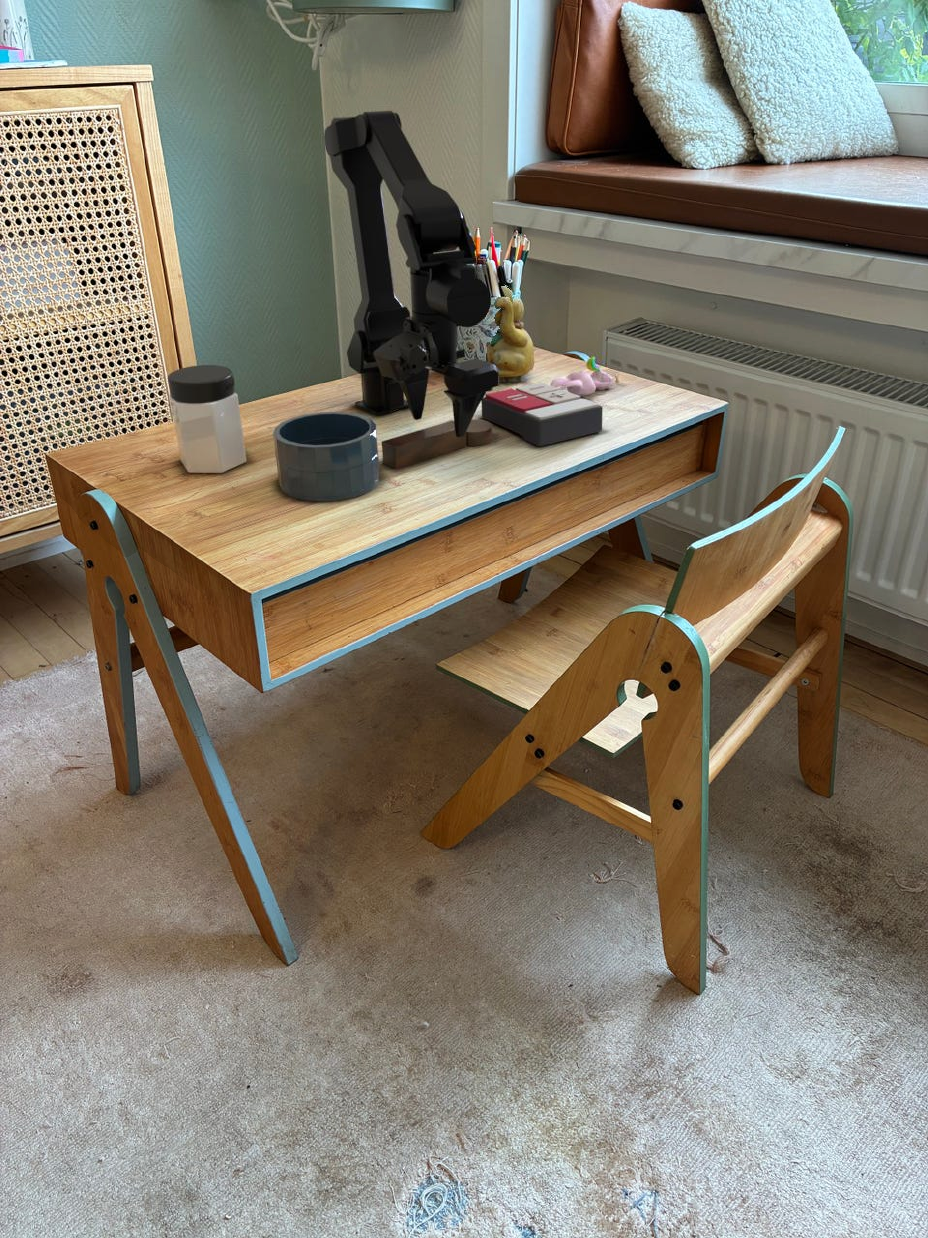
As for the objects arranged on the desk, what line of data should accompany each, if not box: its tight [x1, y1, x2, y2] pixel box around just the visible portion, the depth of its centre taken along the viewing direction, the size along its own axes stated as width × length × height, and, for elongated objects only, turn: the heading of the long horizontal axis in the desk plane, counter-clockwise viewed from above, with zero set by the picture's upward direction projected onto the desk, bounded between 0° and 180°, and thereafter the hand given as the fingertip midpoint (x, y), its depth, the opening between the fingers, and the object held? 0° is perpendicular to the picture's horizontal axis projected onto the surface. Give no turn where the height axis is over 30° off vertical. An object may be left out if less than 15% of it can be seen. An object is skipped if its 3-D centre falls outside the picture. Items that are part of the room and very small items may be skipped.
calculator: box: [480, 382, 604, 447], centre depth 140 cm, size 11×4×15 cm
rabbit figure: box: [549, 356, 620, 398], centre depth 151 cm, size 6×6×15 cm
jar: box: [167, 364, 247, 474], centre depth 128 cm, size 9×8×12 cm
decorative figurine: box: [486, 285, 535, 383], centre depth 157 cm, size 10×8×15 cm
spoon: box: [381, 418, 493, 470], centre depth 133 cm, size 17×5×3 cm, turn 130°
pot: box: [272, 411, 380, 503], centre depth 123 cm, size 13×13×7 cm
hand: (438, 427), depth 132 cm, fingers open, 9 cm apart
